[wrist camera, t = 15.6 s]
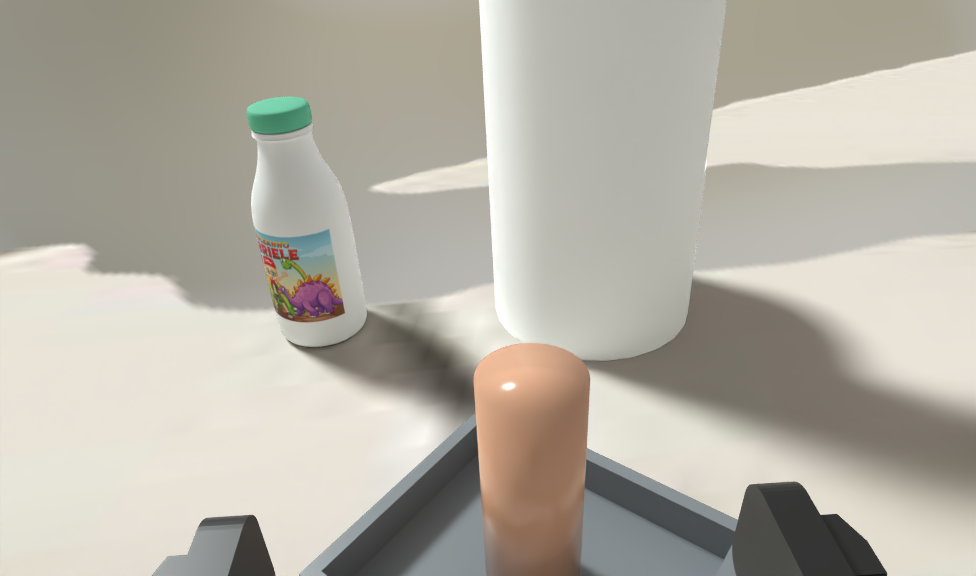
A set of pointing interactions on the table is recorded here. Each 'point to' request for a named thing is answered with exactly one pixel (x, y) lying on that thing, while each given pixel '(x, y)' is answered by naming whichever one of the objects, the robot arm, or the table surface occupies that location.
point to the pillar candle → (532, 458)
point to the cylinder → (597, 166)
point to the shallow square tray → (460, 539)
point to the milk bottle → (303, 229)
